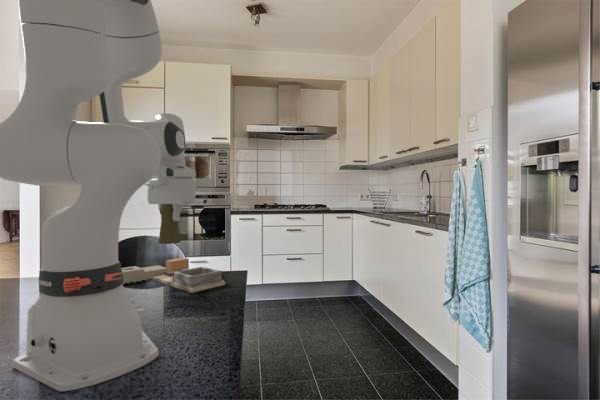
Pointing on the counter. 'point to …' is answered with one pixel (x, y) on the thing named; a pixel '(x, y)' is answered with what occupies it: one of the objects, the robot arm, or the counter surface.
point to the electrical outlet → (142, 273)
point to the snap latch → (177, 264)
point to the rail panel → (192, 279)
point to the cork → (168, 226)
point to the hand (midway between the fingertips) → (170, 220)
